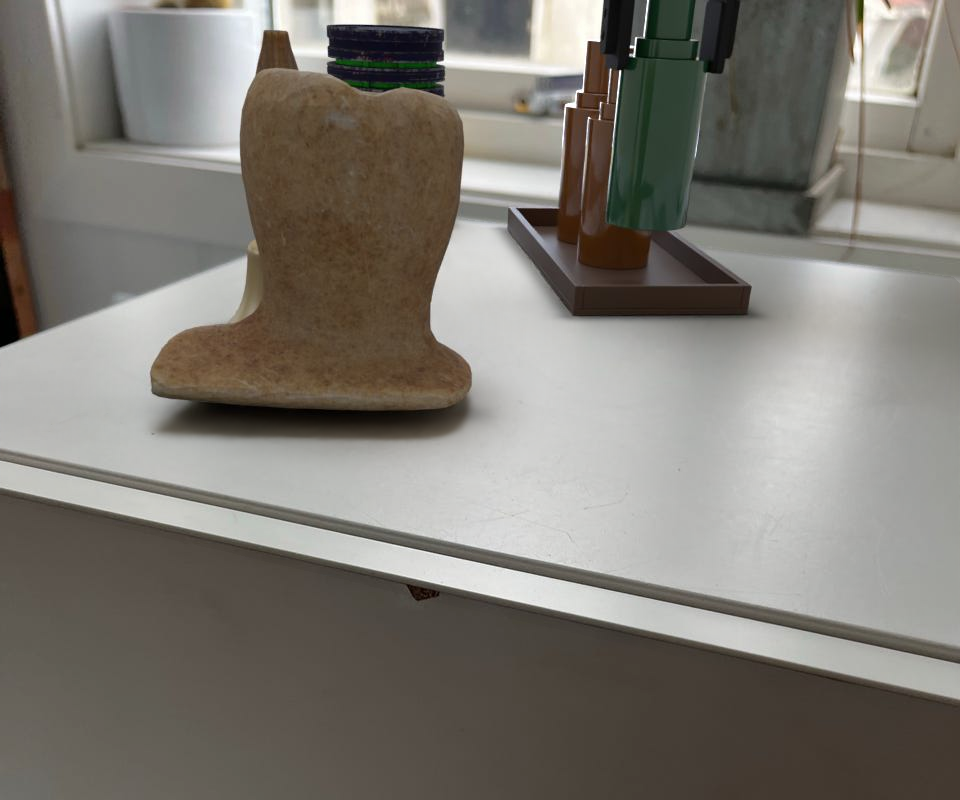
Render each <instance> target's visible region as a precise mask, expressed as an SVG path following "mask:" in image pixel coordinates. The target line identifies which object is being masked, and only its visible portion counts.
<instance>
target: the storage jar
mask: <svg viewBox="0 0 960 800" xmlns="http://www.w3.org/2000/svg"><path fill="white" fill-rule="evenodd" d="M326 37H327V38H328V46H326V47H327V48H326V49H327V57H328V58H330V59H334V60H330V61H326V66H327V67H326V74H330V75H332V76H334V77H336V78H338V79H340V80H342V81H344V82H346V83H347V84H348V85H350V86H351V87H354V88H356V89H359V90H361V91H366V92H375V93H383V92H386V91H390V90H393V89H398V88H401V87H404V88H409V89H416V90H421V91H425V92H429V93H432V94H435V95H438V96H441V97H443V98H445V97H446V94H445V85H444V84H441V83H443V82H445V81H446V66H445V65H443V64H440V62H444V61H445V50H444V49H443V43H444V41H445V29H443V28H437V27H429V26H427V27H426V26H412V25H395V24H393V25H392V24H359V23H358V24H357V23H356V24H355V23H354V24H352V23H348V24H347V23H342V24H341V23H340V24H327V25H326ZM438 63H439V64H438Z"/></svg>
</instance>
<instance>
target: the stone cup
mask: <svg viewBox="0 0 960 800" xmlns="http://www.w3.org/2000/svg"><path fill="white" fill-rule="evenodd" d="M298 70H299V69H298ZM298 70H295V69H284V68H271V69H265V70H262V71H261V72H259V73H258V74H257V75H256V76H255V75H254V77H253V79H252V81H251V83H250V85H249V87H248V89H247V92H246V95H245V98H244V101H243V104H242V109H241V113H240V114H241V115H240V125H239V161H240V171H241V179H242V183H243V188H244V193H245V198H246V205H247V209H248V216H249V219H250V225H251V227H252V231H253V235H254V238H255V239H256V243H257V247H258V252H259V256H260V261H261V266H262V275H263V294H262V299H261V301H260V304H259V306H258V307H257V309H256V310H255V311H254V312H253V313H252V314H251V315H249V316H248V317H246V318H244V319H243V320H241V321H239V322H235V323H228V322H227V323H228V324H227V323H216V324H210V325H207V324H206V325H200V326H195V327H194V326H193V327H191V328H187V329H186V328H185V329H184V330H182V331H180V332H178V333H176V334H174V336H172V337H171V338H170V339H168V341H167V342H166V344H164V345H163V347H161V349H160V351H159V352H158V354H157V356H156V357H155V359H154V360H153V363H152V365H151V367H150V371H149V376H150V386H151V388H150V389H151V390H150V391H151V394H152V395H154V396H155V397H158V398H163V399H169V400H178V401H190V402H198V403H199V402H200V403H212V404H223V405H224V404H225V405H233V406H235V405H236V406H250V407H266V408H280V409H296V410H297V409H299V410H304V409H311V410H331V411H333V410H334V411H369V412H371V411H372V412H373V411H375V412H376V411H422V410H439V409H445V408H449V407H451V406H454V405H456V404H458V403H460V402H461V401H462V400H463V399H464V398H465V397H466V395H468V393H469V392H470V390H471V389H472V385H473V372H472V369H471V366H470V364H469V363H468V362H467V360H466V359H465V358H464V357H463V356H462V355H461V354H460V353H458V352H457V351H455V350H454V349H452V348H450V347H449V346H448V345H446V344H444V343H442V342H440V341H438V340H437V338H436V336H435V334H434V333H433V331H432V327H431V326H432V325H431V309H432V308H431V306H432V305H431V304H432V301H433V300H432V299H433V296H434V295H433V294H434V288H435V285H436V282H437V278H438V275H439V272H440V269H441V267H442V264H443V262H444V259H445V256H446V253H447V249H448V247H449V244H450V241H451V238H452V236H453V232H454V228H455V224H456V221H457V216H458V211H459V206H460V202H461V188H462V179H463V178H462V177H463V166H464V165H463V164H464V155H465V154H464V153H465V134H464V133H465V132H464V123H463V120H462V117H461V116H460V114H459V112H458V109H457V108H456V105H455V104H454V103H452V102H450V101H449V100H448V99H446V98H445V97H444V98H443V97H441V96H438V95H435V94H432V93H429V92H425V91H421V90H416V89H409V88H404V87H401V88H398V89H393V90H390V91H386V92H383V93H375V92H366V91H361V90H359V89H356V88H354V87H351V86H350V85H348V84H347V83H346V82H344V81H342V80H340V79H338V78H336V77H334V76H332V75H330V74H328V73H323V72H316V71H309V70H299V71H298ZM255 239H254V240H255Z"/></svg>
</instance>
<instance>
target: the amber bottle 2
mask: <svg viewBox="0 0 960 800" xmlns="http://www.w3.org/2000/svg"><path fill="white" fill-rule="evenodd" d="M634 48H635V45H630V54H634ZM619 72H620V71H619V70H613V69H610V77H609V88H608V99H607V100H605V101H601V102H600V111H599V114H597V115H591V116H589V117H588V123H587V136H586V148H585V160H584V172H583V184H582V196H581V208H580V221H579V233H578V245H577V257H576V258H577V261H578V262H580V263H582V264H585V265H588V266H592V267H597V268H604V269H619V270H622V269H636V268H641V267H644V266H646V265H647V264H648V258H649V250H650V242H651V233H652V231H643V230H634V229H627V228H621V227H617V226H614V225H611V224H609V223H607V222H606V221H605V212H606V202H607V192H608V182H609V172H610V162H611V152H612V142H613V132H614V122H615V112H616V102H617V92H618V82H619Z"/></svg>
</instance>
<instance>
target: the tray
mask: <svg viewBox="0 0 960 800" xmlns="http://www.w3.org/2000/svg"><path fill="white" fill-rule="evenodd" d="M557 214H558V206H508V207H507V227H506V229H507V231H508V232H509V233H510V235H511V236H512V238H513V239H514V240H515V242H517V244H518V245H519V247H520V248H521V249H522V250H523V252H524V253H525V254H526V256H527V257H528V258H529V260H530V261H531V262H532V264H533V265H534V266H535V268H536V269H537V270H538V271H539V273H540V274H541V276H542V277H543V278H544V279H545V281H546V282H547V283H548V284H549V286H550V287H551V288H552V290H553V291H554V293H556V295H557V296H558V297H559V299H560V300H561V301H562V302H563V304H564V305H565V307H566V308H567V309H568V310H569V312H570V313H571V314H572V315H573V316H654V315H655V316H666V315H667V316H668V315H669V316H673V315H675V316H676V315H687V316H689V315H694V316H695V315H697V316H698V315H748V312H749V305H750V301H751V300H750V299H751V293H752V289H753V286H752V285H751V284H750V283H748V282H747V281H745V280H744V279H743V278H741V277H740V276H738V275H737V274H736V273H734V272H733V271H731V270H730V269H729V268H727V267H726V266H725V265H723V264H722V263H720V262H719V261H718V260H716V259H715V258H714V257H712V256H711V255H709V254H708V253H706V252H705V251H704V250H702V249H701V248H699V247H698V246H696V245H695V244H693V242H691V241H689V240H688V239H687V238H685V237H683V235H681V234H679V233H678V232H677V231H676V230H671V231H652V233H651V242H650V250H649V258H648V264H647V265H646V266H644V267H641V268H636V269H622V270H619V269H604V268H597V267H592V266H588V265H585V264H582V263H580V262H578V261H577V258H576V257H577V244H571V243H566V242H563V241H560V240H559V239H557V238H556V228H557Z"/></svg>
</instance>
